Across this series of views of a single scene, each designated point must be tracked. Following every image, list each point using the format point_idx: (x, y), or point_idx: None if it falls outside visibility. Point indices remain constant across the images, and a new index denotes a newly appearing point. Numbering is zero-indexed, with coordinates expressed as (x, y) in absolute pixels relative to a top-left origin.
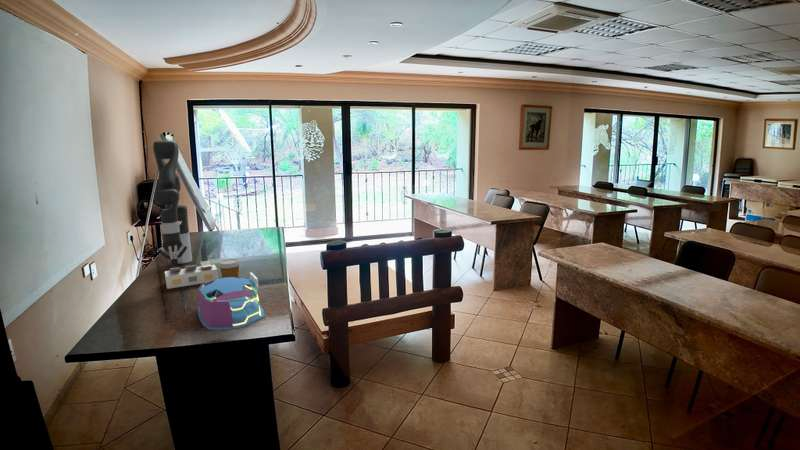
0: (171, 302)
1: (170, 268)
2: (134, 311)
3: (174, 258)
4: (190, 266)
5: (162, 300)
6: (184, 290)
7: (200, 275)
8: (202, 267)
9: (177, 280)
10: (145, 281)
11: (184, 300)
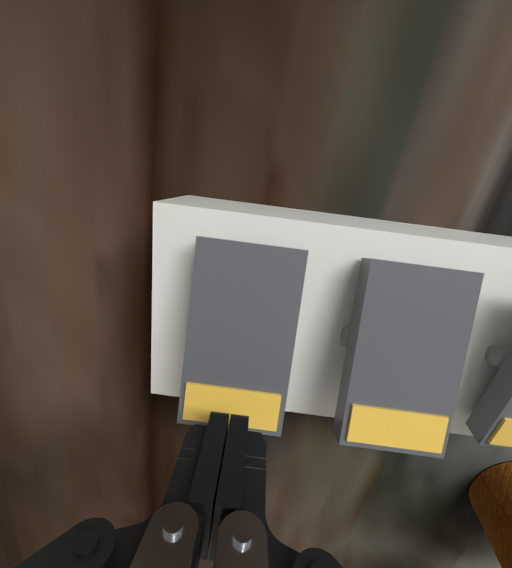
0: None
1: (205, 248)
2: (38, 534)
3: (220, 512)
4: (385, 443)
5: (146, 490)
6: None
7: None
8: (486, 440)
9: None
10: (31, 18)
11: None
